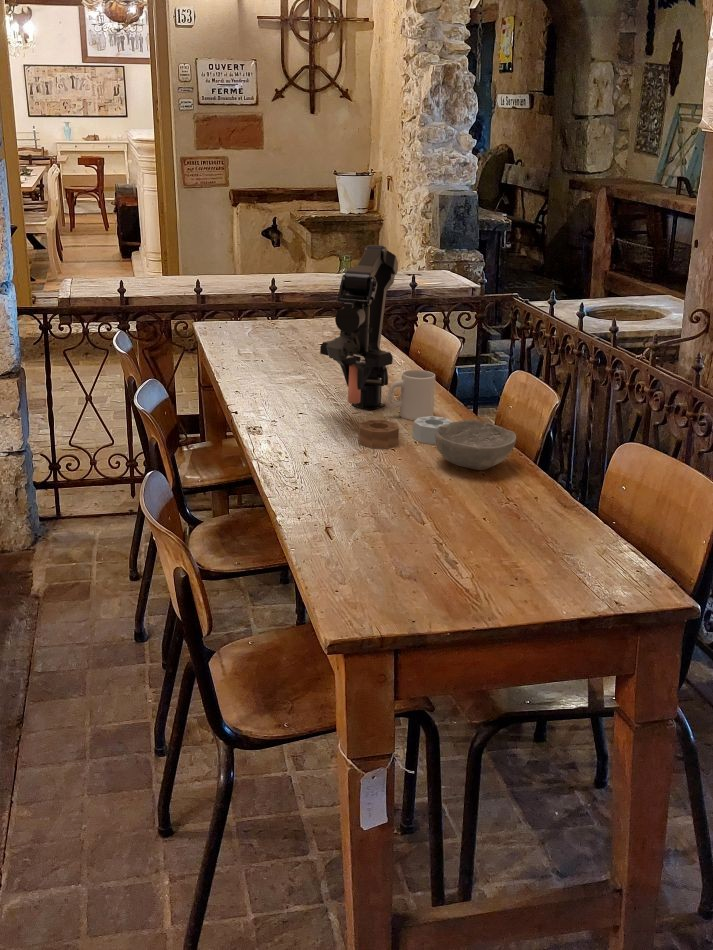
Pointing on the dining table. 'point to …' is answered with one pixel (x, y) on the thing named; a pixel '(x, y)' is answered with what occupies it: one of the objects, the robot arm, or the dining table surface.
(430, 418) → the slate bead
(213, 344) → the dining table surface
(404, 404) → the mug
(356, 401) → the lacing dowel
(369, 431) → the walnut bead
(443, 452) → the bowl
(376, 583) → the dining table surface
